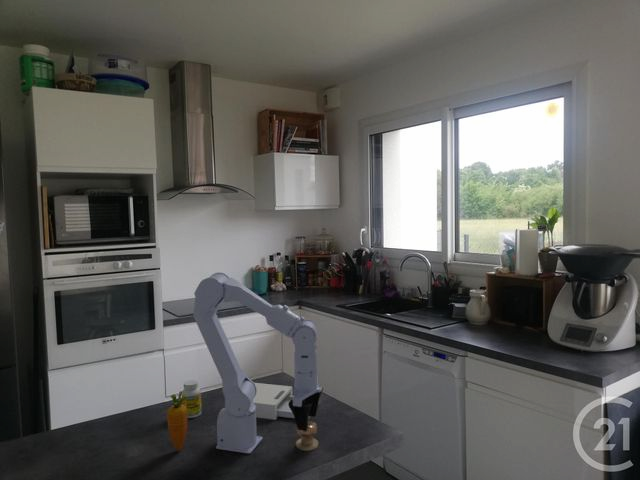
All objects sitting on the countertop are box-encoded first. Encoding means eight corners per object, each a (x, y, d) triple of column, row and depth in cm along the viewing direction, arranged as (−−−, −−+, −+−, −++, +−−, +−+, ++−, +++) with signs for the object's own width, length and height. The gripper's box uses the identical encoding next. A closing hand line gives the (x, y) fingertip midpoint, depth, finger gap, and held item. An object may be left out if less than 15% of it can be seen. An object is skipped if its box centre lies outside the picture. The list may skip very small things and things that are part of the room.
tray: (263, 416, 135) (263, 406, 135) (280, 398, 148) (280, 389, 148) (307, 422, 131) (307, 411, 131) (320, 402, 144) (320, 393, 144)
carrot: (181, 443, 121) (179, 386, 120) (193, 449, 118) (191, 391, 117) (164, 451, 117) (161, 393, 116) (175, 458, 114) (173, 398, 113)
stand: (292, 449, 118) (292, 435, 117) (300, 438, 123) (300, 425, 123) (314, 452, 116) (314, 438, 116) (320, 441, 121) (320, 428, 121)
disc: (294, 435, 118) (294, 428, 117) (300, 426, 122) (300, 419, 122) (313, 437, 116) (313, 431, 116) (319, 428, 121) (319, 422, 121)
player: (230, 414, 138) (230, 399, 137) (251, 395, 151) (251, 382, 151) (275, 419, 134) (275, 404, 133) (292, 400, 147) (292, 386, 147)
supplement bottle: (199, 408, 142) (198, 377, 141) (203, 415, 137) (202, 383, 136) (180, 412, 139) (179, 381, 138) (184, 420, 134) (183, 387, 134)
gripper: (312, 381, 110) (313, 438, 111) (329, 361, 124) (330, 411, 125) (284, 379, 112) (285, 434, 113) (303, 359, 126) (304, 409, 127)
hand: (307, 422), depth 119 cm, fingers open, 7 cm apart
